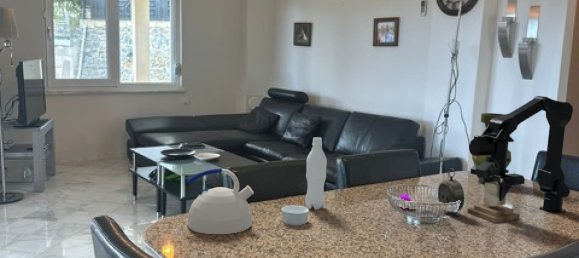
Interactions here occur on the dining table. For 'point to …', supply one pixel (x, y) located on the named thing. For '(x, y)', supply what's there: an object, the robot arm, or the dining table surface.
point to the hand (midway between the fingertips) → (494, 199)
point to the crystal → (405, 197)
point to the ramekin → (295, 215)
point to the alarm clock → (451, 191)
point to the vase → (481, 159)
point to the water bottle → (316, 175)
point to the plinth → (493, 219)
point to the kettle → (220, 208)
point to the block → (492, 194)
